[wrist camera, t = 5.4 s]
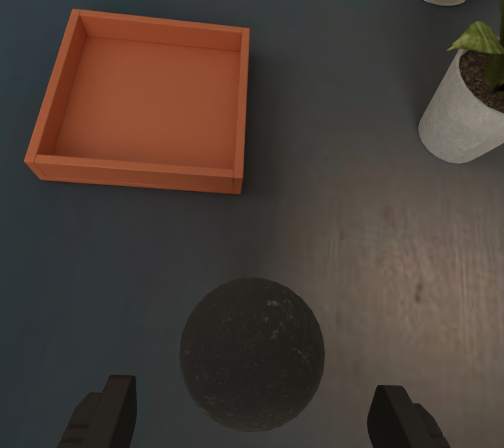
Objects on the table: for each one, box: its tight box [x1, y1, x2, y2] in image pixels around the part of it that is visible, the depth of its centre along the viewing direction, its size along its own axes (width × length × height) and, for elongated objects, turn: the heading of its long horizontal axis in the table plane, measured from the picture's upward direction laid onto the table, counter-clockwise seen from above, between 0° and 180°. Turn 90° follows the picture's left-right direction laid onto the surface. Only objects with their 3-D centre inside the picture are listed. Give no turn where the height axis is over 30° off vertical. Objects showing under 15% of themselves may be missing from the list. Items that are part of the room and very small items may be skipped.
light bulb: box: [180, 278, 325, 432], centre depth 16 cm, size 6×6×10 cm
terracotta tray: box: [24, 9, 250, 194], centre depth 26 cm, size 13×13×2 cm
